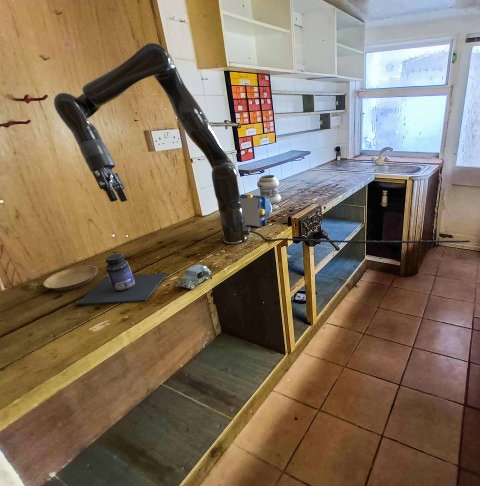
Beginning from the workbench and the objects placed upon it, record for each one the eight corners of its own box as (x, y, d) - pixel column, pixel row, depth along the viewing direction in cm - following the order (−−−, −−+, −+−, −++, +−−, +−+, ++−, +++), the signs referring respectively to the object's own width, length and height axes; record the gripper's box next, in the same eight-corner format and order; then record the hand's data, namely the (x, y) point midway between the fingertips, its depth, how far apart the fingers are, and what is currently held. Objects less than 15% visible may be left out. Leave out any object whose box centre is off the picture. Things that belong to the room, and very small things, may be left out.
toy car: (179, 289, 100) (175, 275, 98) (202, 274, 108) (199, 262, 106) (194, 293, 97) (190, 279, 95) (216, 278, 106) (214, 265, 104)
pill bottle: (139, 283, 102) (130, 253, 98) (123, 293, 97) (112, 262, 93) (125, 281, 104) (115, 251, 100) (109, 290, 99) (97, 259, 94)
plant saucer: (41, 284, 105) (38, 278, 104) (92, 267, 115) (90, 261, 114) (52, 300, 96) (49, 293, 95) (106, 280, 106) (103, 273, 105)
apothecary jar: (255, 210, 172) (251, 178, 164) (267, 204, 182) (264, 173, 174) (274, 212, 167) (271, 179, 160) (285, 206, 177) (282, 174, 170)
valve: (261, 227, 146) (260, 195, 142) (235, 224, 151) (233, 193, 147) (276, 222, 158) (275, 192, 154) (251, 219, 163) (249, 190, 159)
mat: (166, 274, 109) (166, 273, 108) (145, 301, 94) (145, 299, 94) (108, 278, 108) (107, 276, 107) (77, 305, 93) (76, 303, 93)
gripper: (98, 149, 99) (122, 197, 103) (117, 155, 113) (137, 197, 116) (74, 156, 98) (99, 205, 101) (96, 162, 112) (117, 204, 115)
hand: (119, 201), depth 109 cm, fingers open, 8 cm apart
